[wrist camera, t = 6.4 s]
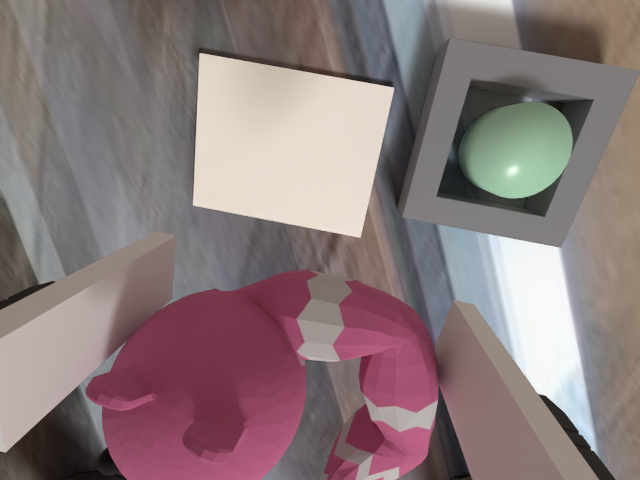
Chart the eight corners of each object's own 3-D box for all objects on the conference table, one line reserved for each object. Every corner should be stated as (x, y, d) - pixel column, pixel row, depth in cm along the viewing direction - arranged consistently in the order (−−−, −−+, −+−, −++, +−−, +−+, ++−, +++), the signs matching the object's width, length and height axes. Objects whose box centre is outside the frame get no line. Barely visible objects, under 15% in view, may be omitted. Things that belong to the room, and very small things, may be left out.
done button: (448, 183, 24) (461, 189, 22) (473, 99, 22) (491, 94, 20) (526, 197, 24) (549, 206, 21) (559, 114, 22) (589, 111, 19)
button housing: (396, 208, 27) (402, 217, 24) (438, 49, 23) (450, 37, 20) (538, 235, 27) (561, 247, 24) (604, 78, 23) (640, 70, 20)
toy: (158, 411, 16) (-98, 546, 6) (244, 250, 18) (159, 158, 8) (370, 523, 14) (479, 914, 5) (433, 337, 17) (595, 349, 7)
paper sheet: (195, 204, 28) (192, 205, 28) (201, 54, 25) (199, 52, 24) (360, 236, 28) (360, 237, 28) (393, 88, 24) (394, 87, 24)
